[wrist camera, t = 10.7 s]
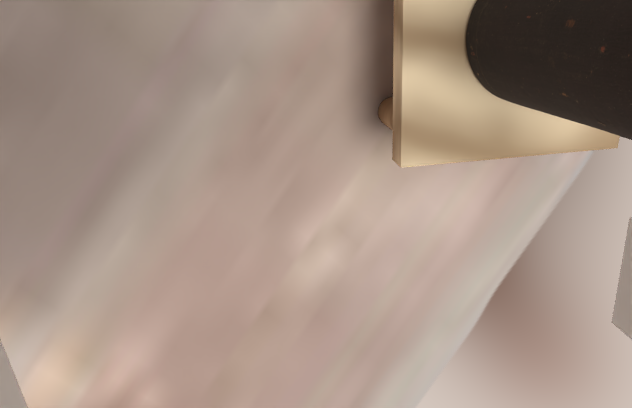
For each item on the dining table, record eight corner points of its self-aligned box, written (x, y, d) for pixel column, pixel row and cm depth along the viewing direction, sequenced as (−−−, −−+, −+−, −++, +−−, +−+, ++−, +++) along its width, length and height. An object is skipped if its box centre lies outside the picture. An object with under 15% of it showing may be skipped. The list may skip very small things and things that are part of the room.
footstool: (366, -79, 36) (404, -105, 28) (571, -86, 38) (663, -112, 30) (368, 136, 42) (400, 167, 34) (546, 122, 44) (617, 147, 36)
